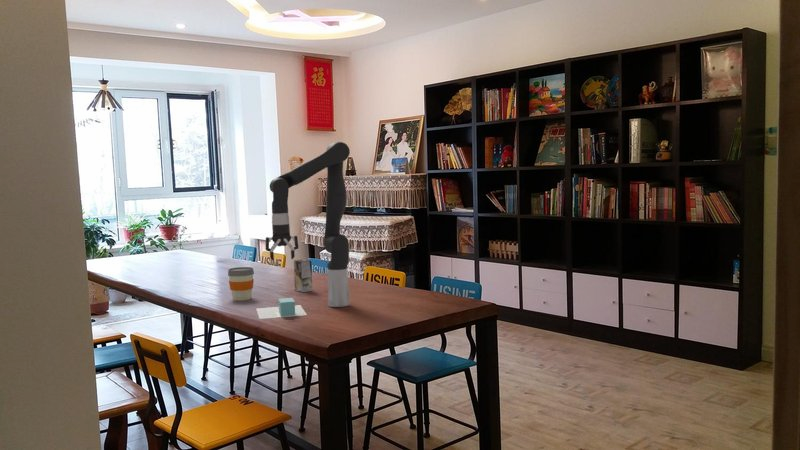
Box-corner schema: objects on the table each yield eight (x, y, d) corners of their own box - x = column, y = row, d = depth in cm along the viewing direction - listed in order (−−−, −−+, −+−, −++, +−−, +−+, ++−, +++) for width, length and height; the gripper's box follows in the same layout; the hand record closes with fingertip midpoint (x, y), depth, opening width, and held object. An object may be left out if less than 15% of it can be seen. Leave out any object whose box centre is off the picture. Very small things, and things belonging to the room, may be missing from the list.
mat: (300, 306, 283) (300, 304, 283) (307, 316, 262) (307, 314, 262) (256, 309, 277) (256, 308, 277) (259, 320, 256) (259, 318, 256)
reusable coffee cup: (248, 301, 297) (246, 270, 296) (224, 300, 300) (223, 270, 299) (259, 296, 309) (258, 267, 308) (236, 296, 312) (235, 266, 311)
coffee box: (313, 290, 322) (312, 260, 320) (302, 292, 318) (301, 261, 317) (304, 288, 329) (303, 259, 328) (294, 290, 325) (293, 260, 324)
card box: (295, 315, 261) (294, 301, 261) (281, 316, 259) (280, 302, 259) (292, 311, 270) (292, 297, 269) (279, 312, 268) (278, 298, 268)
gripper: (265, 224, 265) (267, 261, 266) (298, 223, 269) (299, 259, 271) (263, 223, 272) (265, 259, 273) (295, 221, 276) (297, 257, 278)
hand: (282, 259), depth 272 cm, fingers open, 8 cm apart
